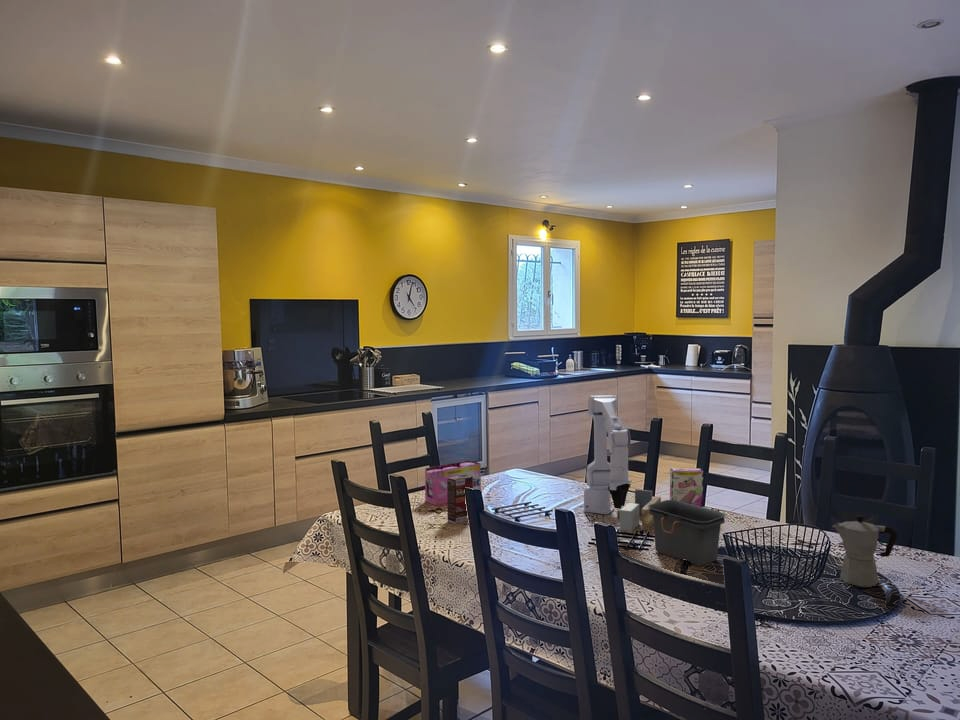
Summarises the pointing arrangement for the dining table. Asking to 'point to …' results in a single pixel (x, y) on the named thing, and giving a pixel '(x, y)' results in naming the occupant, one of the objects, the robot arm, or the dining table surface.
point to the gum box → (439, 475)
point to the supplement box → (457, 498)
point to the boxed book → (629, 517)
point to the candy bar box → (687, 485)
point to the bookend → (642, 498)
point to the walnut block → (618, 513)
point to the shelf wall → (648, 514)
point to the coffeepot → (862, 550)
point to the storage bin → (686, 531)
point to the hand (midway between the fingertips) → (619, 506)
